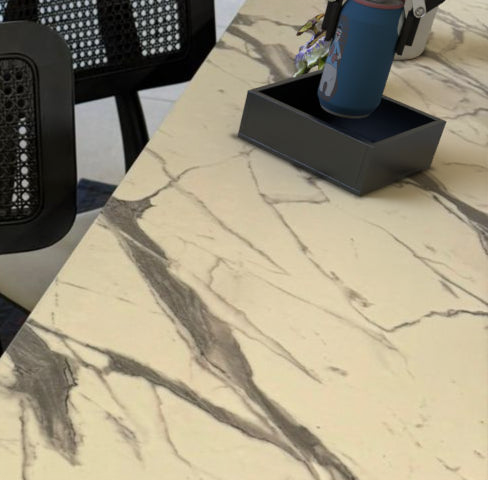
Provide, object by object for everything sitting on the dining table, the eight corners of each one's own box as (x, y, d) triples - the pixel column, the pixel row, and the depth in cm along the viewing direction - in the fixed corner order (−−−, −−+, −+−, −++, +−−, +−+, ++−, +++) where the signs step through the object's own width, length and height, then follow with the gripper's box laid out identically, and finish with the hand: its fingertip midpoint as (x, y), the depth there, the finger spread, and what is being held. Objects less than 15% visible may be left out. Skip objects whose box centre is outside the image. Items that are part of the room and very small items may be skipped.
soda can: (387, 110, 116) (423, -1, 108) (357, 126, 112) (392, 11, 104) (333, 91, 119) (364, -19, 111) (302, 105, 115) (332, -7, 107)
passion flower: (288, 123, 139) (291, 31, 138) (372, 119, 137) (376, 26, 136) (293, 101, 128) (296, 1, 127) (384, 97, 126) (388, -5, 125)
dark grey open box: (429, 170, 118) (447, 121, 114) (357, 198, 111) (374, 147, 107) (308, 115, 128) (321, 68, 124) (236, 138, 121) (247, 90, 117)
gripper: (512, -137, 100) (447, 49, 112) (334, -163, 104) (290, 19, 116) (511, -122, 95) (444, 71, 106) (324, -151, 98) (278, 39, 110)
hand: (364, 43), depth 111 cm, fingers closed on soda can, 7 cm apart
